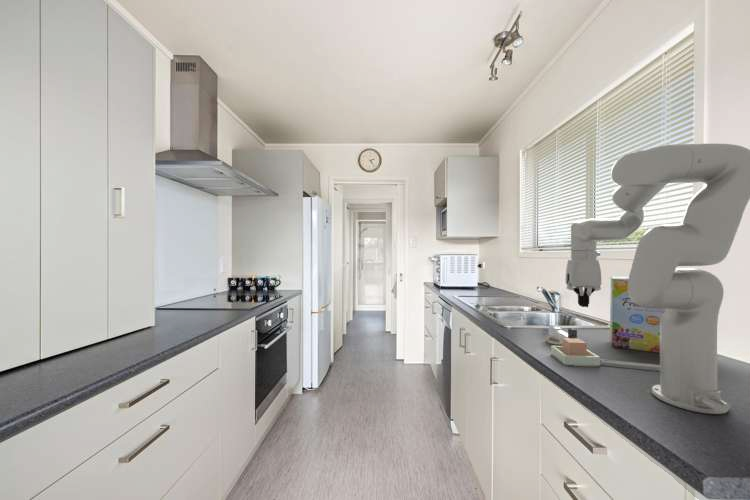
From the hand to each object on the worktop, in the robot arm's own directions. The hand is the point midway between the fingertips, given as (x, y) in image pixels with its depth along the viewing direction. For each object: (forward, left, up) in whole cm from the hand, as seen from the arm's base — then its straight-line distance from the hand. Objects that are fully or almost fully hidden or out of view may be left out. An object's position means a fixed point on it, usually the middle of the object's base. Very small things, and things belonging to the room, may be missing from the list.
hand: (583, 306), depth 108 cm
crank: (+2, +6, -15) cm, 16 cm away
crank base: (+8, +6, -16) cm, 19 cm away
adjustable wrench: (-15, -9, -16) cm, 24 cm away
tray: (-11, +8, -16) cm, 21 cm away
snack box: (+4, -23, -16) cm, 28 cm away
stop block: (-11, +8, -15) cm, 21 cm away
